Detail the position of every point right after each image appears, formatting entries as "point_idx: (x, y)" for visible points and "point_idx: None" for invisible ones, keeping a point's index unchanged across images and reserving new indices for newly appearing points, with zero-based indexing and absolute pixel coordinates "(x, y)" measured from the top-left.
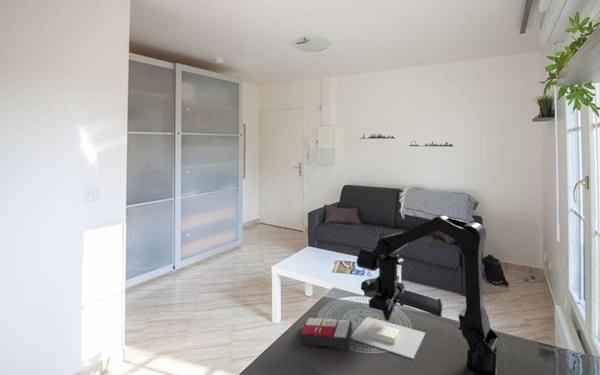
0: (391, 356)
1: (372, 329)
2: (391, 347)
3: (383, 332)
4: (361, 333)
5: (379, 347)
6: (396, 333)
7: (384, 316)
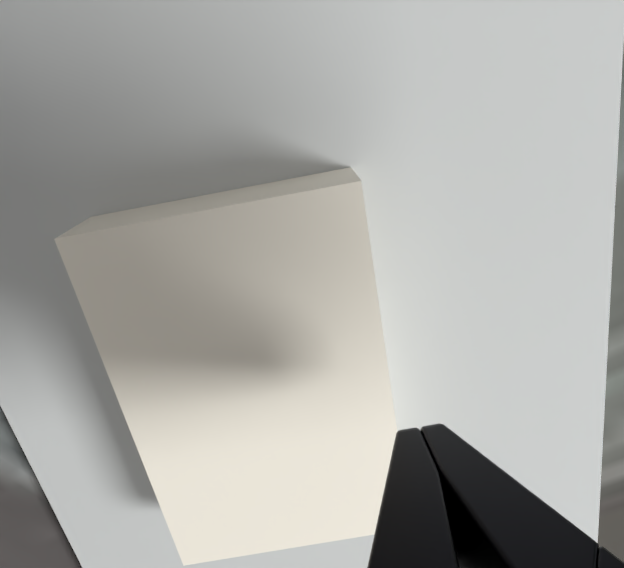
0: (21, 550)
1: (143, 289)
2: (118, 515)
3: (200, 429)
4: (68, 125)
5: (19, 439)
6: (301, 533)
7: (388, 475)
